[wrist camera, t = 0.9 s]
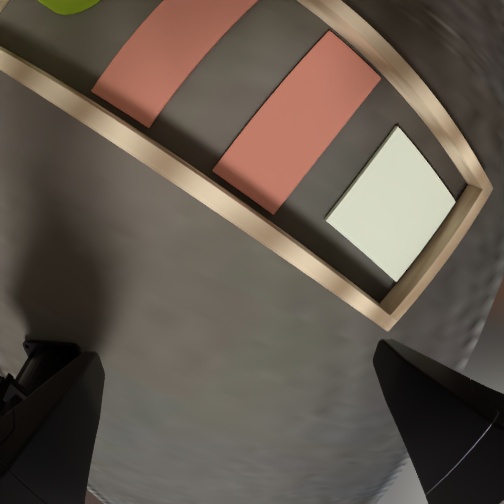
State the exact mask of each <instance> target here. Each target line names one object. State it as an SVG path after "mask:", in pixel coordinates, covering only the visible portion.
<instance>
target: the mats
mask: <svg viewBox="0 0 504 504" xmlns="http://www.w3.org/2000/svg"><path fill="white" fill-rule="evenodd" d="M257 1H259V0H163V1H162V2H161V3H160V5H159V6H158V7H157V8H156V9H155V10H154V11H153V12H152V13H151V14H150V15H149V16H148V17H147V19H146V20H145V21H144V22H143V23H142V24H141V25H140V27H139V28H138V29H137V30H136V31H135V32H134V34H133V35H132V36H131V37H130V38H129V40H128V41H127V42H126V43H125V45H124V46H123V47H122V48H121V50H120V51H119V52H118V54H117V55H116V56H115V58H114V59H113V60H112V62H111V63H110V64H109V66H108V67H107V68H106V70H105V71H104V73H103V74H102V76H101V77H100V78H99V80H98V81H97V83H96V84H95V86H94V87H93V89H92V90H91V92H93V93H94V94H96V95H98V96H99V97H101V98H103V99H104V100H106V101H107V102H109V103H110V104H112V105H114V106H115V107H117V108H118V109H120V110H122V111H123V112H125V113H126V114H128V115H129V116H131V117H132V118H134V119H136V120H137V121H139V122H140V123H142V124H143V125H145V126H146V127H148V128H150V126H151V125H152V123H153V122H154V121H155V119H156V118H157V116H158V115H159V114H160V112H161V111H162V109H163V108H164V107H165V105H166V104H167V103H168V101H169V100H170V99H171V97H172V96H173V95H174V93H175V92H176V91H177V90H178V88H179V87H180V86H181V84H182V83H183V82H184V81H185V79H186V78H187V77H188V76H189V74H190V73H191V72H192V71H193V70H194V68H195V67H196V66H197V65H198V64H199V62H200V61H201V60H202V59H203V58H204V57H205V55H206V54H207V53H208V52H209V51H210V50H211V49H212V48H213V46H214V45H215V44H216V43H217V42H218V41H219V40H220V39H221V38H222V37H223V35H224V34H225V33H226V32H227V31H228V30H229V29H230V28H231V27H232V26H233V25H234V24H235V23H236V22H237V21H238V20H239V19H240V18H241V17H242V16H243V15H244V14H245V13H246V12H247V11H248V10H249V9H250V8H251V7H252V6H253V5H254V4H255V3H256V2H257ZM380 79H381V77H380V76H379V75H378V74H377V73H376V72H375V71H374V70H373V69H372V68H371V67H370V66H369V65H368V64H367V63H365V62H364V61H363V60H362V59H361V58H360V57H359V56H358V55H357V54H356V53H355V52H354V51H353V50H352V49H350V48H349V47H348V46H347V45H346V44H345V43H344V42H343V41H341V40H340V39H339V38H338V37H337V36H336V35H334V34H333V33H332V32H331V31H330V30H329V31H328V32H327V33H326V34H325V35H324V36H323V37H322V38H321V39H320V40H319V42H318V43H317V44H316V45H315V46H314V47H313V48H312V49H311V50H310V51H309V52H308V53H307V55H306V56H305V57H304V58H303V59H302V60H301V61H300V62H299V63H298V65H297V66H296V67H295V68H294V69H293V70H292V71H291V72H290V74H289V75H288V76H287V77H286V78H285V79H284V81H283V82H282V83H281V84H280V85H279V86H278V88H277V89H276V90H275V91H274V92H273V94H272V95H271V96H270V97H269V98H268V99H267V101H266V102H265V103H264V104H263V106H262V107H261V108H260V109H259V110H258V112H257V113H256V114H255V115H254V117H253V118H252V119H251V120H250V122H249V123H248V124H247V125H246V127H245V128H244V129H243V130H242V132H241V133H240V134H239V136H238V137H237V138H236V139H235V141H234V142H233V143H232V145H231V146H230V147H229V149H228V150H227V151H226V152H225V154H224V155H223V156H222V158H221V159H220V160H219V162H218V163H217V165H216V166H215V167H214V169H213V170H212V171H213V172H214V173H216V174H217V175H219V176H220V177H221V178H223V179H224V180H226V181H227V182H229V183H230V184H231V185H233V186H234V187H236V188H237V189H238V190H240V191H241V192H243V193H244V194H245V195H247V196H248V197H250V198H251V199H252V200H254V201H255V202H256V203H258V204H259V205H261V206H262V207H263V208H265V209H266V210H267V211H269V212H270V213H271V214H273V215H274V214H275V212H276V211H277V210H278V209H279V207H280V206H281V205H282V203H283V202H284V201H285V200H286V198H287V197H288V196H289V195H290V193H291V192H292V191H293V189H294V188H295V187H296V186H297V184H298V183H299V182H300V181H301V179H302V178H303V177H304V175H305V174H306V173H307V172H308V170H309V169H310V168H311V167H312V165H313V164H314V163H315V161H316V160H317V159H318V158H319V156H320V155H321V154H322V153H323V151H324V150H325V149H326V148H327V146H328V145H329V144H330V142H331V141H332V140H333V139H334V137H335V136H336V135H337V134H338V132H339V131H340V130H341V129H342V127H343V126H344V125H345V123H346V122H347V121H348V120H349V118H350V117H351V116H352V115H353V113H354V112H355V111H356V110H357V108H358V107H359V106H360V105H361V103H362V102H363V101H364V100H365V98H366V97H367V96H368V95H369V93H370V92H371V91H372V89H373V88H374V87H375V86H376V84H377V83H378V82H379V81H380Z"/></svg>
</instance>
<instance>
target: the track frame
mask: <svg viewBox="0 0 504 504" xmlns="http://www.w3.org/2000/svg"><path fill="white" fill-rule="evenodd" d="M9 1H10V0H0V13H1V12H2V10H3V9H4V8H5V6H6V5H7V3H8V2H9ZM296 1H298V2H299V3H300V4H302V5H303V6H305V7H306V8H307V9H309V10H310V11H311V12H313V13H314V14H315V15H317V16H318V17H319V18H320V19H322V20H323V21H324V22H325V23H327V24H328V25H329V26H330V27H332V28H333V29H334V30H335V31H336V32H338V33H339V34H340V35H341V36H342V37H343V38H345V39H346V40H347V41H348V42H349V43H350V44H351V45H352V46H354V47H355V48H356V49H357V50H358V51H359V52H360V53H361V54H362V55H363V56H364V57H365V58H366V59H367V60H369V61H370V62H371V63H372V64H373V65H374V66H375V67H376V68H377V69H378V70H379V71H380V72H381V73H382V74H383V76H384V77H385V78H386V79H387V80H388V81H389V82H390V83H391V84H392V85H393V86H394V87H395V88H396V89H397V91H398V92H399V93H400V94H401V95H402V96H403V97H404V98H405V100H406V101H407V102H408V103H409V104H410V105H411V107H412V108H413V109H414V110H415V111H416V113H417V114H418V115H419V116H420V117H421V119H422V120H423V121H424V122H425V124H426V125H427V126H428V128H429V129H430V130H431V131H432V133H433V134H434V135H435V137H436V138H437V139H438V141H439V142H440V144H441V145H442V146H443V148H444V149H445V151H446V152H447V153H448V155H449V156H450V158H451V159H452V161H453V162H454V164H455V165H456V167H457V168H458V170H459V171H460V173H461V174H462V176H463V178H464V179H465V181H466V182H467V184H468V185H467V187H466V188H465V190H464V192H463V193H462V195H461V196H460V198H459V199H458V201H457V202H456V204H455V206H454V207H453V209H452V210H451V211H450V213H449V214H448V216H447V217H446V219H445V220H444V222H443V223H442V225H441V226H440V227H439V229H438V230H437V232H436V233H435V234H434V236H433V237H432V239H431V240H430V241H429V243H428V244H427V245H426V247H425V248H424V249H423V251H422V252H421V253H420V255H419V256H418V257H417V259H416V260H415V261H414V262H413V264H412V265H411V266H410V267H409V269H408V270H407V271H406V272H405V274H404V275H403V276H402V277H401V279H400V280H399V281H398V282H397V284H396V285H395V286H394V287H393V288H392V290H391V291H390V292H389V293H388V294H387V295H386V297H385V298H384V299H383V300H382V301H381V302H380V304H379V303H378V302H377V301H375V300H374V299H373V298H372V297H370V296H369V295H368V294H366V293H365V292H364V291H363V290H361V289H360V288H359V287H357V286H356V285H355V284H354V283H352V282H351V281H350V280H348V279H347V278H346V277H344V276H343V275H342V274H341V273H339V272H338V271H337V270H335V269H334V268H333V267H331V266H330V265H329V264H327V263H326V262H325V261H323V260H322V259H321V258H319V257H318V256H317V255H315V254H314V253H313V252H311V251H310V250H309V249H307V248H306V247H305V246H303V245H302V244H301V243H299V242H298V241H297V240H295V239H294V238H293V237H291V236H290V235H289V234H287V233H286V232H284V231H283V230H282V229H280V228H279V227H278V226H276V225H275V224H273V223H272V222H271V221H269V220H268V219H267V218H265V217H264V216H262V215H261V214H260V213H258V212H257V211H255V210H254V209H253V208H251V207H250V206H248V205H247V204H246V203H244V202H243V201H241V200H240V199H239V198H237V197H236V196H234V195H233V194H232V193H230V192H229V191H227V190H226V189H224V188H223V187H222V186H220V185H219V184H217V183H216V182H214V181H213V180H212V179H210V178H209V177H207V176H206V175H204V174H203V173H201V172H200V171H199V170H197V169H196V168H194V167H193V166H191V165H190V164H188V163H187V162H185V161H184V160H182V159H181V158H179V157H178V156H177V155H175V154H174V153H172V152H171V151H169V150H168V149H166V148H165V147H163V146H162V145H160V144H159V143H157V142H156V141H154V140H153V139H151V138H150V137H148V136H147V135H145V134H144V133H142V132H140V131H139V130H137V129H136V128H134V127H133V126H131V125H130V124H128V123H127V122H125V121H124V120H122V119H120V118H119V117H117V116H116V115H114V114H113V113H111V112H110V111H108V110H106V109H105V108H103V107H102V106H100V105H98V104H97V103H95V102H94V101H92V100H91V99H89V98H87V97H86V96H84V95H82V94H81V93H79V92H78V91H76V90H74V89H73V88H71V87H69V86H68V85H66V84H65V83H63V82H61V81H60V80H58V79H56V78H55V77H53V76H51V75H50V74H48V73H46V72H45V71H43V70H41V69H40V68H38V67H36V66H34V65H33V64H31V63H29V62H28V61H26V60H24V59H22V58H21V57H19V56H17V55H15V54H14V53H12V52H10V51H8V50H7V49H5V48H3V47H1V46H0V70H1V71H3V72H4V73H6V74H8V75H9V76H11V77H12V78H14V79H16V80H17V81H19V82H20V83H22V84H23V85H25V86H26V87H28V88H30V89H31V90H33V91H34V92H36V93H37V94H39V95H41V96H42V97H44V98H45V99H47V100H48V101H50V102H51V103H53V104H54V105H56V106H58V107H59V108H61V109H62V110H64V111H65V112H67V113H68V114H70V115H71V116H73V117H75V118H76V119H78V120H79V121H81V122H82V123H84V124H85V125H87V126H88V127H90V128H91V129H93V130H94V131H96V132H97V133H99V134H100V135H102V136H104V137H105V138H107V139H108V140H110V141H111V142H113V143H114V144H116V145H117V146H119V147H120V148H122V149H123V150H125V151H126V152H128V153H129V154H131V155H132V156H134V157H135V158H137V159H138V160H140V161H141V162H143V163H144V164H146V165H147V166H149V167H150V168H152V169H153V170H155V171H156V172H158V173H159V174H161V175H162V176H164V177H165V178H167V179H168V180H170V181H171V182H173V183H174V184H176V185H177V186H179V187H180V188H182V189H183V190H184V191H186V192H187V193H189V194H190V195H192V196H193V197H195V198H196V199H198V200H199V201H201V202H202V203H204V204H205V205H207V206H208V207H210V208H211V209H213V210H214V211H215V212H217V213H218V214H220V215H221V216H223V217H224V218H226V219H227V220H229V221H230V222H232V223H233V224H234V225H236V226H237V227H239V228H240V229H242V230H243V231H245V232H246V233H248V234H249V235H251V236H252V237H253V238H255V239H256V240H258V241H259V242H261V243H262V244H264V245H265V246H267V247H268V248H269V249H271V250H272V251H274V252H275V253H277V254H278V255H280V256H281V257H282V258H284V259H285V260H287V261H288V262H290V263H291V264H293V265H294V266H295V267H297V268H298V269H300V270H301V271H303V272H304V273H305V274H307V275H308V276H310V277H311V278H313V279H314V280H315V281H317V282H318V283H320V284H321V285H323V286H324V287H325V288H327V289H328V290H330V291H331V292H333V293H334V294H335V295H337V296H338V297H340V298H341V299H343V300H344V301H345V302H347V303H348V304H350V305H351V306H352V307H354V308H355V309H357V310H358V311H360V312H361V313H362V314H364V315H365V316H367V317H368V318H369V319H371V320H372V321H374V322H375V323H376V324H378V325H379V326H381V327H382V328H383V329H385V330H386V331H389V330H390V329H391V328H392V327H393V325H394V324H395V323H396V322H397V321H398V320H399V319H400V318H401V316H402V315H403V314H404V313H405V312H406V311H407V310H408V308H409V307H410V306H411V305H412V304H413V303H414V301H415V300H416V299H417V298H418V297H419V295H420V294H421V293H422V292H423V290H424V289H425V288H426V287H427V285H428V284H429V283H430V282H431V280H432V279H433V278H434V276H435V275H436V274H437V273H438V271H439V270H440V269H441V267H442V266H443V265H444V263H445V262H446V261H447V259H448V258H449V256H450V255H451V254H452V252H453V251H454V249H455V248H456V247H457V245H458V244H459V242H460V241H461V239H462V238H463V236H464V235H465V233H466V232H467V230H468V229H469V227H470V226H471V224H472V223H473V221H474V220H475V218H476V216H477V215H478V213H479V212H480V210H481V208H482V207H483V205H484V203H485V202H486V200H487V198H488V197H489V195H490V193H491V192H492V190H493V187H492V185H491V183H490V181H489V180H488V178H487V176H486V174H485V172H484V170H483V169H482V167H481V165H480V163H479V161H478V160H477V158H476V156H475V155H474V153H473V151H472V150H471V148H470V146H469V145H468V143H467V142H466V140H465V138H464V137H463V135H462V134H461V132H460V131H459V129H458V128H457V126H456V125H455V123H454V122H453V120H452V119H451V118H450V116H449V115H448V113H447V112H446V111H445V109H444V108H443V106H442V105H441V104H440V102H439V101H438V100H437V98H436V97H435V96H434V95H433V93H432V92H431V91H430V90H429V88H428V87H427V86H426V85H425V83H424V82H423V81H422V80H421V79H420V77H419V76H418V75H417V74H416V73H415V71H414V70H413V69H412V68H411V67H410V66H409V65H408V63H407V62H406V61H405V60H404V59H403V58H402V57H401V56H400V55H399V54H398V53H397V52H396V51H395V49H394V48H393V47H392V46H391V45H390V44H389V43H388V42H387V41H386V40H385V39H384V38H383V37H382V36H381V35H380V34H379V33H378V32H376V31H375V30H374V29H373V28H372V27H371V26H370V25H369V24H368V23H367V22H366V21H365V20H364V19H362V18H361V17H360V16H359V15H358V14H357V13H356V12H354V11H353V10H352V9H351V8H350V7H348V6H347V5H346V4H345V3H344V2H342V1H341V0H296Z"/></svg>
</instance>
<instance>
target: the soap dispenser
mask: <svg viewBox="0 0 504 504" xmlns="http://www.w3.org/2000/svg"><path fill="white" fill-rule="evenodd" d="M37 1H39V2H40V3H42V4H43V5H45V6H46V7H48V8H49V9H51V10H52V11H54V12H55V13H57V14H61V15H71V14H75V13H79V12H82V11H84V10H86V9H88V8H90V7H92V6H93V5H95V4H96V3H98V2H99V1H100V0H37Z"/></svg>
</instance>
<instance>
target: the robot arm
mask: <svg viewBox="0 0 504 504" xmlns="http://www.w3.org/2000/svg"><path fill="white" fill-rule="evenodd" d="M23 347H24V349H25V351H26V353H27V356H28V358H27V360H26V362H25V363H24V365H23V367H22V368H21V370H20V372H19V374H18V375H17V377H16V379H14V377H13V376H12V375H11V374H10V373H8V375H7V376H6V377H5V378H4V377H1V376H0V504H85V496H86V489H87V483H88V477H89V471H90V465H91V459H92V454H93V449H94V444H95V439H96V434H97V429H98V425H99V420H100V413H101V403H102V395H103V387H104V380H105V373H104V369H103V366H102V363H101V360H100V357H99V355H98V353H97V352H91V351H85V352H83V353H82V354H81V352H80V349H79V347H78V346H77V345H76V344H73V343H58V342H44V341H32V340H25V341H24V343H23ZM74 349H75V350H74ZM373 365H374V368H375V371H376V374H377V377H378V380H379V383H380V386H381V389H382V392H383V395H384V398H385V400H386V403H387V405H388V407H389V409H390V412H391V414H392V416H393V418H394V421H395V423H396V425H397V427H398V430H399V432H400V434H401V437H402V439H403V441H404V444H405V446H406V448H407V451H408V453H409V456H410V458H411V460H412V463H413V465H414V468H415V470H416V473H417V475H418V478H419V480H420V483H421V485H422V488H423V490H424V493H425V495H426V499H427V501H428V504H504V394H502V393H500V392H497V391H495V390H493V389H490V388H488V387H486V386H484V385H482V384H480V383H478V382H476V381H474V380H472V379H471V380H470V378H468V377H466V376H464V375H462V374H460V373H458V372H456V371H454V370H452V369H450V368H448V367H446V366H444V365H443V364H441V363H439V362H437V361H435V360H433V359H431V358H429V357H427V356H425V355H423V354H421V353H419V352H417V351H415V350H413V349H411V348H409V347H408V346H406V345H404V344H402V343H400V342H398V341H396V340H394V339H392V338H386V339H381V340H380V341H379V342H378V345H377V348H376V351H375V354H374V357H373Z"/></svg>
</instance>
